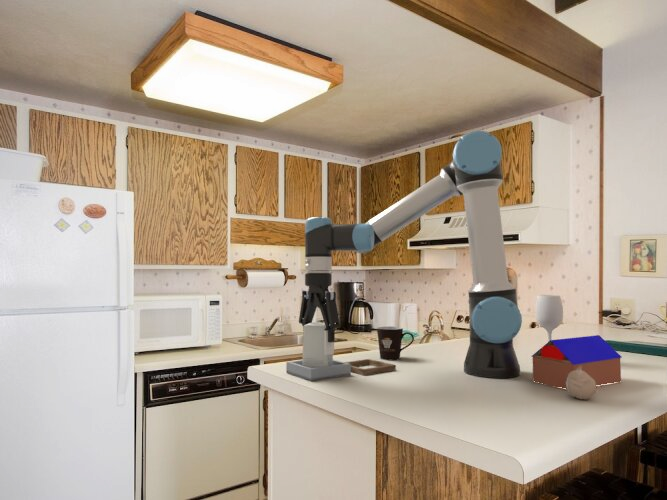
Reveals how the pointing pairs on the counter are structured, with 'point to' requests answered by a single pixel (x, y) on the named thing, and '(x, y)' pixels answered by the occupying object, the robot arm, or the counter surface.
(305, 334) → the supplement box
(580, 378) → the garlic bulb
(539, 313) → the wineglass
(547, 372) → the house
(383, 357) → the coffee mug
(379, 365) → the walnut collar
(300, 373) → the grey tray
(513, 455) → the counter surface
